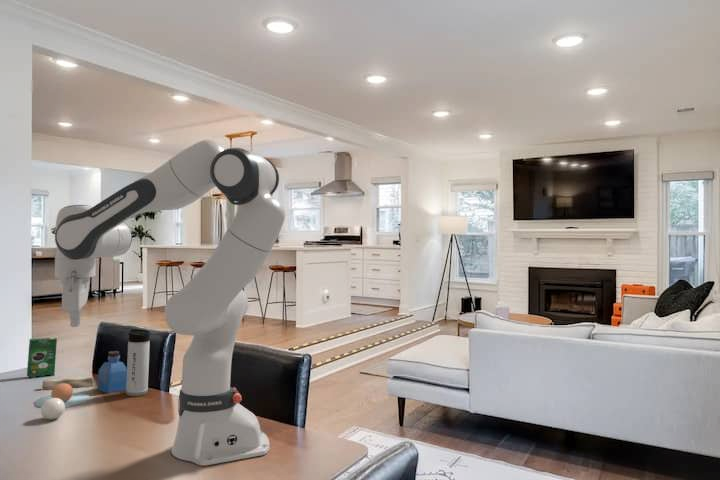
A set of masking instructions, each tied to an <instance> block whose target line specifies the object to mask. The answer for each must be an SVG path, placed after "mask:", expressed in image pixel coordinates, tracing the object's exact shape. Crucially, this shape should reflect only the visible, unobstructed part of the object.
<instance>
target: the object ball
mask: <svg viewBox="0 0 720 480" xmlns="http://www.w3.org/2000/svg"><path fill="white" fill-rule="evenodd" d="M73 393H74V389H73V387H71V386H70V385H69V384H66V383H61V384H58V385H57V386H55V387H54V388H53V389H51V394H50V395H51V396H52V398H59V399H61V400H62V401H63V402H66V401H68V400H69V399H70V398H71V397H72V395H73Z"/></svg>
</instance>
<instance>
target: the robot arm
mask: <svg viewBox="0 0 720 480" xmlns="http://www.w3.org/2000/svg"><path fill="white" fill-rule="evenodd" d="M279 182H280V173H279V171H278V169H277V167H276V166H275V164H274V163H273V162H272V161H271V160H269V159H268V158H266V157H263V156H262V155H260V154H259V153H257V152H256V151H255V152H254V151H251V150H247V149H244V148H240V147H231V148H227V149H225V148H224V147H223V146H222V145H221V144H220V143H218V142H216V141H215V140H212V139H203V140H201V141H197V142H196V143H194V144H193V145H190V146H188V147H186V148H185V149H183V150H181V151H180V152H179V153H177V154H175V155H174V156H173V157H171V158H170V159H168V160H167V161H166V162H165V163H163V164H161V166H159V167H157V168H156V169H154V170H153V171H151V172H149V173H148V174H146V175H144V176H143V177H141V178H139V179H137V180H135V181H133V182H132V183H130V184H128V185H126V186H124V187H122V188H121V189H119V190H118V191H116V192H114V193H112V194H111V195H110V196H108V197H107V198H105V199H103V200H102V201H100V202H98V203H97V204H95V205H94V206H91V205H88V204H73V205H67V206H64V207H62V208H60V209H59V211H58V213H57V215H56V221H55V230H54V241H55V246H56V253H55V256H54V278H55V279H60V285H62V287H61V290H62V291H61V309H62V312H63V313H67V312H68V313H69V321H70V326H69V327H71V328H77V327H79V326H80V325H81V314H82V308H83V307H84V306H85V305H87V302H88V297H89V292H90V284H91V278H95V277H96V273H97V272H96V270H97V268H96V266H97V265H96V263H97V261H96V260H97V259H98V258H101V259H102V258H114V257H119V256H123V255H124V254H126V252H128V250H129V249H130V248H131V245H132V242H133V236H132V231H131V228H130V226H129V225H128V224H127V223H126V221H128V220H129V219H131V218H133V217H135V216H138V215H140V214H144V213H149V212H157V211H158V212H159V211H173V210H174V211H175V210H179V209H182V208H184V207H187V206H189V205H191V204H193V203H195V202H196V201H197V200H199V199H200V198H202V197H203V196H204V195H206V194H207V193H208V192H210V191H211V190H212V189H214V188H215V187H216V188H217V189H218V190H219V191H220V193H222V194H223V196H224V197H225V198H226V199H227V200H228V201H229V203H230V204H232V205H235V206H236V207H237V209H236V213H235V216H234V217H233V219H232V220H231V223H230V224H229V225H228V228H227V229H226V231H225V232H224V234H223V236H222V238H221V239H220V242H219V243H218V245H217V247H216V248H215V250H214V251H213V253H212V254H211V256H210V257H209V258H208V259H207V261H206V262H205V263H204V264H203V265H202V267H200V269H199V270H198V271H197V272H196V273H195V274H194V275H193V276H192V277H191V279H190V280H189V281H188V282H187V283H186V284H185V286H183V287H182V288H181V289H179V291H177V292H175V293H174V294H173V295H172V296H170V297H169V299H168V300H167V302H166V304H165V308H164V320H165V322H166V325H167V326H168V328H169V329H170V330H171V331H172V332H174V333H175V334H178V335H181V336H184V335H185V336H193V337H192V341H191V343H190V344H189V347H188V348H187V349H186V350H185V352H184V355H183V358H182V369H181V370H182V372H181V373H182V374H181V375H182V376H181V388H180V390H179V394H178V402H177V403H178V404H177V405H178V406H177V411H178V416H179V417H178V422H177V423H178V424H177V429H176V435H175V438H174V441H173V444H172V447H171V454H172V455H173V456H174V457H175V458H177V459H179V460H183V461H186V462H192V463H194V464H196V465H198V466H203V467H204V466H209V465H210V466H211V465H216V464H221V463H226V462H233V461H237V460H243V459H249V458H254V457H258V456H259V457H260V456H264V455H266V454H267V453H268V452H269V450H270V439H269V437H268V435H267V434H266V433H264V432H263V431H262V430H261V425H260V422H259V420H258V417H257V416H256V415H255V414H254V413H253V411H250V410H249V409H247V408H246V407H244V405H242V404H240V403H241V402H242V398H243V397H242V395H241V393H240V392H239V390H238V389H237V388H236V387H234V386H233V387H232V386H231V375H232V373H231V372H232V359H233V353H234V347H235V345H236V344H235V343H236V340H237V336H238V332H239V329H240V325H241V322H242V320H243V318H244V317H245V316H246V313H247V311H248V308H249V299H248V295H247V294H246V292H245V291H244V288H246V286H247V285H249V284H250V283H251V282H252V281H253V280H254V279H255V278H256V277H257V274H258V273H259V270H260V269H261V268H262V266H263V265H264V262H265V261H266V259H267V257H268V256H269V254H270V252H271V250H272V249H273V247H274V246H275V243H276V242H277V239H278V237H279V235H280V232H281V231H282V227H283V224H284V222H285V221H286V220H285V219H286V210H285V208H284V206H283V205H282V204H281V202H280V201H279V200H278V199H276V198H275V197H273V196H272V195H273V194H274V193H275V192H276V191H277V189H278V186H279ZM96 258H97V259H96Z"/></svg>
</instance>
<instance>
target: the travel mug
mask: <svg viewBox="0 0 720 480" xmlns="http://www.w3.org/2000/svg"><path fill="white" fill-rule="evenodd" d="M150 337H151V332H150V331H149V330H146V329H138V328H131V329H130V330H129V331H128V341H127V342H128V343H127V360H126V361H127V363H126V364H127V365H126V368H127V381H126V389H125V395H126V396H129V397H140V396H141V397H142V396H145V395H147V393H148V392H149V371H150V370H149V368H150V366H149V365H150V346H151V345H150V344H151V343H150V341H151V339H150Z"/></svg>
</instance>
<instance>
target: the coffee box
mask: <svg viewBox="0 0 720 480" xmlns="http://www.w3.org/2000/svg"><path fill="white" fill-rule="evenodd" d="M57 343H58V338H57V337H43V338H42V337H40V338H30V339H29V344H28V355H27V356H28V357H27V368H26V370H27V371H26V377H27V376H28V377H35V376H43V377H46V376H45V375H53V376H55V371H56V370H55V369H56V360H57V359H56V357H57Z"/></svg>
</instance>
